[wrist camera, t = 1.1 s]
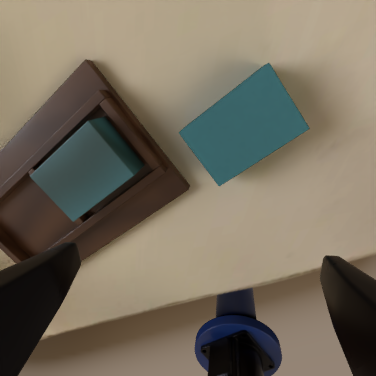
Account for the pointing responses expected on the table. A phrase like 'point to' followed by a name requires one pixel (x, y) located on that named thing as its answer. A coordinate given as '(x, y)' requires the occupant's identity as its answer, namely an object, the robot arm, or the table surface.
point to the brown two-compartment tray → (81, 172)
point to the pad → (244, 126)
